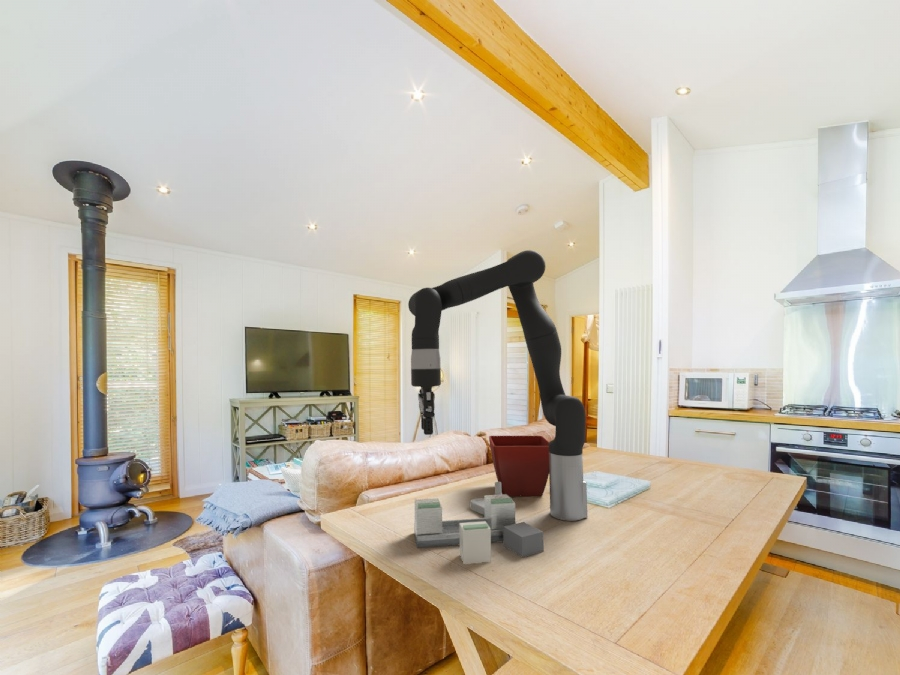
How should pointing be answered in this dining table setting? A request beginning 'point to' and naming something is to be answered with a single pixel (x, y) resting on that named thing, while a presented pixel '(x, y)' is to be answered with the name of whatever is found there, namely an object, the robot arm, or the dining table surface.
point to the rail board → (459, 521)
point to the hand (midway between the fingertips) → (427, 431)
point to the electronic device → (479, 502)
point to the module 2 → (523, 539)
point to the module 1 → (475, 542)
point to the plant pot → (521, 464)
